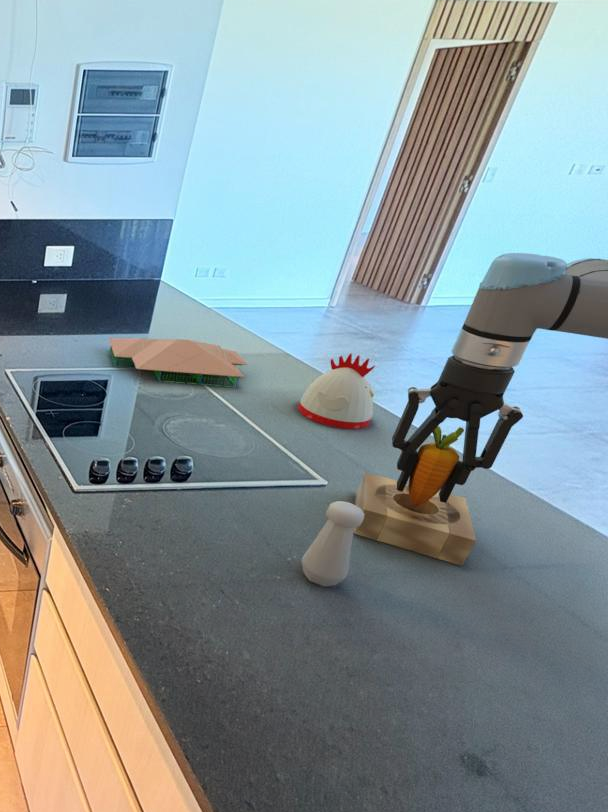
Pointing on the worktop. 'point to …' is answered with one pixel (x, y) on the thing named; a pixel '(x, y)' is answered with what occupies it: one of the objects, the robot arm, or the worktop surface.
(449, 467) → the carrot
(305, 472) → the worktop surface
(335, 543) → the salt shaker
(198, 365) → the house
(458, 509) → the holder
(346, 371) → the kitchen timer
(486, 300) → the robot arm
